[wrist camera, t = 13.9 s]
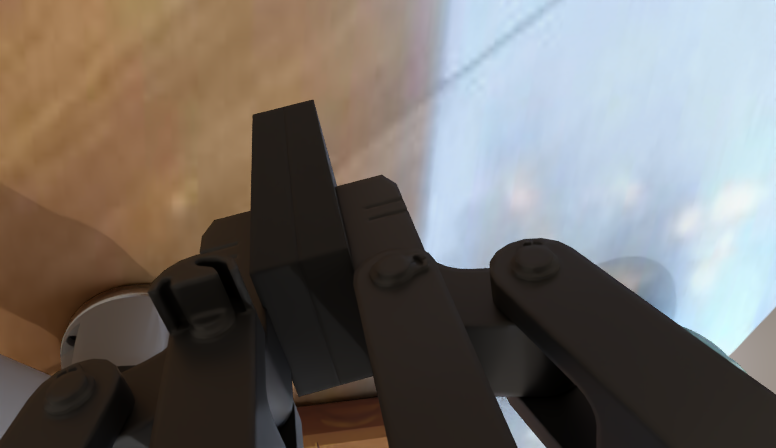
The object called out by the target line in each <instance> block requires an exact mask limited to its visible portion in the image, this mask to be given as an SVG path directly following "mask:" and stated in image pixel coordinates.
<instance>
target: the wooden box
mask: <svg viewBox="0 0 776 448" xmlns="http://www.w3.org/2000/svg"><path fill="white" fill-rule="evenodd" d="M296 408H297V411H298V413H299V416H300V419H301V423H302V435H303V447H304V448H389V445H388V441H387V436H386V431H385V427H384V422H383V418H382V413H381V409H380V404H379V400H378V397H374V398H366V399H358V400H350V401H342V402H333V403H325V404H317V405H309V406H301V407H296Z"/></svg>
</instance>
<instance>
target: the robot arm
mask: <svg viewBox="0 0 776 448" xmlns="http://www.w3.org/2000/svg"><path fill="white" fill-rule="evenodd" d="M60 356H61V370H60V371H58V372H57V373H55V374H54V375H53V376H50V375H48V374H45V373H43V372H41V371H38V370H36V369H34V368H31V367H29V366H27V365H24V364H22V363H20V362H17V361H15V360H13V359H10V358H8V357H6V356H3V355H1V354H0V448H304V447H303V435H302V423H301V419H300V416H299V413H298V411H297V408H296V406H295V403H294V401H293V392H292V381H293V384H294V386H295V389H296V391H297V393H298V396H299V397H300V396H303V395H307V394H311V393H314V392H318V391H321V390H325V389H328V388H332V387H336V386H339V385H343V384H346V383H350V382H354V381H357V380H361V379H364V378H368V377H371V376H373V377H374V381H375V386H376V390H377V395H378V400H379V404H380V409H381V413H382V418H383V422H384V427H385V431H386V436H387V441H388V445H389V448H517V445H516V443H515V441H514V438H513V436H512V434H511V432H510V429H509V427H508V425H507V422H506V420H505V418H504V416H503V413H502V411H501V409H500V406H499V404H498V402H497V400H496V397H507V399H508V401H509V403H510V405H511V406H512V407H513V408H514V410H515V411H516V412H517V413H518V414H519V416H520V417H521V418H522V419H523V420H524V422H525V423H526V424H527V425H528V426H529V428H530V429H531V430H532V431H533V432H534V433H535V435H536V436H537V437H538V438H539V439H540V441H541V442H542V443H543V444H544V445H545V447H546V448H776V394H774V393H773V392H771V391H770V390H769V389H767V388H766V387H765V386H763V385H762V384H760V383H759V382H758V381H756V380H755V379H753V378H752V377H751V376H749V375H748V374H747V373H745V372H744V371H742V370H741V369H740V368H738V367H737V366H735V365H734V364H733V363H731V362H730V361H728V360H727V359H726V358H724V357H723V356H722V355H720V354H719V353H717V352H716V351H715V350H713V349H712V348H710V347H709V346H708V345H706V344H705V343H703V342H702V341H701V340H699V339H698V338H697V337H695V336H694V335H692V334H691V333H690V332H688V331H687V330H685V329H684V328H683V327H681V326H680V325H678V324H677V323H676V322H674V321H673V320H672V319H670V318H669V317H667V316H666V315H665V314H663V313H662V312H660V311H659V310H658V309H656V308H655V307H653V306H652V305H651V304H649V303H648V302H647V301H645V300H644V299H642V298H641V297H640V296H638V295H637V294H635V293H634V292H633V291H631V290H630V289H628V288H627V287H626V286H624V285H623V284H622V283H620V282H619V281H617V280H616V279H615V278H613V277H612V276H610V275H609V274H608V273H606V272H605V271H603V270H602V269H601V268H599V267H598V266H597V265H595V264H594V263H592V262H591V261H590V260H588V259H587V258H585V257H584V256H583V255H581V254H580V253H578V252H577V251H576V250H574V249H573V248H571V247H569V246H567V245H565V244H563V243H561V242H559V241H555V240H549V239H543V238H537V239H523V240H520V241H517V242H513V243H510V244H508V245H506V246H505V247H503V248H502V249H500V250H499V251H497V252H496V253H495V255H494V256H493V258H492V259H491V261H490V268H484V269H457V268H452V267H447V266H444V265H442V264H439V263H437V262H436V261H435V260H434V259H433V257H432V256H431V255H430V254H429V253H427V252H426V251H425V250H424V247H423V245H422V243H421V240H420V238H419V236H418V233H417V231H416V229H415V226H414V224H413V222H412V219H411V217H410V215H409V212H408V211H407V208H406V205H405V203H404V201H403V199H402V196H401V194H400V191H399V189H398V187H397V184H396V183H394V182H393V181H391V180H389V179H388V178H386V177H384V176H383V175H379V176H375V177H371V178H367V179H363V180H360V181H356V182H352V183H348V184H344V185H340V186H337V184H336V181H335V177H334V173H333V170H332V166H331V162H330V159H329V155H328V151H327V148H326V144H325V140H324V137H323V133H322V129H321V126H320V122H319V118H318V115H317V111H316V107H315V104H314V100H309V101H305V102H301V103H297V104H294V105H290V106H286V107H282V108H278V109H274V110H270V111H266V112H262V113H258V114H254V115H253V124H252V171H251V211H248V212H244V213H240V214H236V215H232V216H229V217H225V218H221V219H217V220H214V221H213V222H212V224H211V225H210V226H209V228H208V229H207V230H206V232H205V233H204V235H203V236H202V240H201V247H200V254H198V255H195V256H192V257H189V258H186V259H184V260H181V261H179V262H177V263H176V264H174V265H172V266H171V267H169V268H167V269H166V270H164V271H163V272H162V273H161V274H160V275H159V276H158V277H157V278H156V279H155V280H154V281H153V283H152V284H138V285H128V286H122V287H118V288H114V289H111V290H108V291H105V292H103V293H101V294H98V295H96V296H95V297H93V298H91V299H90V300H88V301H87V302H86V303H84V304H83V305H82V306H81V307H80V308H79V309H78V310H77V311H76V312H75V314H74V315H73V317H72V318H71V320H70V322H69V324H68V327H67V329H66V331H65V334H64V336H63V339H62V342H61V348H60Z"/></svg>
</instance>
